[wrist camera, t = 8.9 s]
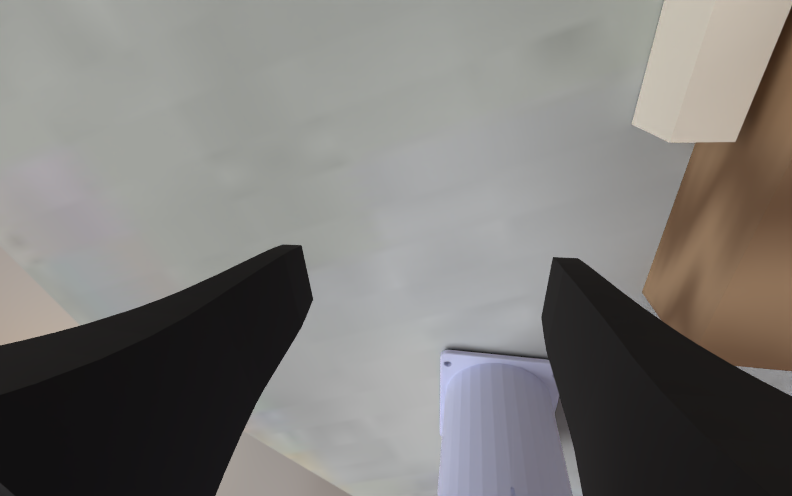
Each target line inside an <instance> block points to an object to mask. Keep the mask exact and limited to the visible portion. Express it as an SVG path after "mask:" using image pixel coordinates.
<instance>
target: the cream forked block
mask: <svg viewBox="0 0 792 496" xmlns="http://www.w3.org/2000/svg"><path fill="white" fill-rule="evenodd" d="M791 6H792V0H664V3H663V7H662V11H661V15H660V19H659V22H658V26H657V30H656V34H655V37H654V41H653V45H652V49H651V53H650V56H649V60H648V64H647V68H646V72H645V75H644V79H643V83H642V87H641V91H640V94H639V98H638V102H637V106H636V109H635V113H634V117H633V121H632V125H634V126H636V127H638V128H640V129H642V130H644V131H646V132H648V133H650V134H652V135H655V136H657V137H659V138H661V139H663V140H665V141H667V142H669V143H692V142H736V139H737V137H738V134H739V132H740V130H741V127H742V125H743V122H744V120H745V118H746V115H747V113H748V110H749V108H750V105H751V103H752V101H753V98H754V96H755V93H756V91H757V89H758V86H759V84H760V81H761V79H762V76H763V74H764V72H765V69H766V67H767V64H768V62H769V59H770V57H771V55H772V52H773V50H774V47H775V45H776V43H777V40H778V38H779V35H780V33H781V30H782V28H783V26H784V23H785V21H786V18H787V16H788V14H789V11H790V9H791Z"/></svg>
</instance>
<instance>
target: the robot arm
mask: <svg viewBox="0 0 792 496" xmlns="http://www.w3.org/2000/svg"><path fill="white" fill-rule="evenodd" d="M312 301H313V297H312V292H311V287H310V283H309V278H308V274H307V269H306V264H305V260H304V255H303V250H302V246H301V245H280V246H278V247H275V248H272V249H270V250H268V251H266V252H263V253H261V254H259V255H257V256H255V257H253V258H251V259H249V260H247V261H244V262H242V263H240V264H238V265H236V266H234V267H232V268H230V269H228V270H226V271H224V272H222V273H220V274H218V275H215V276H213V277H211V278H209V279H207V280H204V281H202V282H200V283H198V284H196V285H193V286H191V287H189V288H187V289H184V290H182V291H180V292H177V293H175V294H172V295H170V296H167V297H165V298H162V299H160V300H157V301H154V302H152V303H149V304H146V305H144V306H141V307H138V308H135V309H132V310H129V311H126V312H123V313H120V314H117V315H113V316H110V317H107V318H104V319H101V320H97V321H94V322H91V323H88V324H85V325H81V326H78V327H74V328H70V329H66V330H63V331H59V332H56V333H51V334H47V335H44V336H40V337H35V338H31V339H27V340H23V341H18V342H14V343H10V344H5V345H0V496H215V495H216V492H217V490H218V488H219V485H220V483H221V480H222V478H223V475H224V473H225V470H226V468H227V466H228V463H229V461H230V459H231V457H232V455H233V452H234V450H235V448H236V446H237V443H238V441H239V439H240V436H241V434H242V432H243V430H244V428H245V426H246V424H247V422H248V420H249V417H250V415H251V413H252V411H253V409H254V407H255V405H256V403H257V401H258V399H259V397H260V396H261V394H262V392H263V390H264V388H265V387H266V385H267V383H268V382H269V380H270V378H271V377H272V375H273V374H274V372H275V370H276V369H277V367H278V365H279V364H280V362H281V360H282V359H283V357H284V355H285V354H286V352H287V351H288V349H289V347H290V346H291V344H292V342H293V341H294V339H295V337H296V335H297V334H298V332H299V330H300V329H301V327H302V325H303V322H304V320H305V318H306V316H307V313H308V311H309V308H310V306H311V303H312ZM542 325H543V332H544V339H545V345H546V351H547V354H548V358H549V360H546V359H536V358H526V357H516V356H506V355H496V354H486V353H476V352H467V351H457V350H444V351H442V352H441V363H440V435H441V436H442V444H441V456H440V469H439V481H438V494H437V496H573V494H572V490H571V485H570V481H569V476H568V472H567V467H566V463H565V458H564V454H563V449H562V445H561V440H560V436H559V431H558V427H557V422H556V418H555V411H556V407H557V403H558V399H559V396H560V399H561V403H562V406H563V410H564V413H565V416H566V420H567V423H568V427H569V430H570V434H571V438H572V442H573V446H574V450H575V456H576V461H577V466H578V472H579V477H580V482H581V488H582V493H583V496H792V396H790V395H788V394H786V393H784V392H782V391H780V390H778V389H776V388H774V387H772V386H771V385H769V384H767V383H765V382H763V381H761V380H759V379H757V378H755V377H754V376H752V375H750V374H748V373H746V372H744V371H743V370H741V369H739V368H737V367H735V366H734V365H732V364H730V363H728V362H727V361H725V360H723V359H722V358H720V357H718V356H717V355H715V354H713V353H711V352H710V351H708V350H706V349H705V348H703V347H701V346H700V345H698V344H696V343H695V342H693V341H692V340H690V339H688V338H687V337H685V336H684V335H682V334H681V333H679V332H678V331H676V330H675V329H673V328H672V327H670V326H669V325H667V324H666V323H664V322H663V321H661V320H660V319H658V318H657V317H655V316H654V315H653V314H651V313H650V312H648V311H647V310H646V309H644V308H643V307H641V306H640V305H639V304H637V303H636V302H635V301H633V300H632V299H631V298H629V297H628V296H627V295H625V294H624V293H623V292H621V291H620V290H619V289H617V288H616V287H615V286H614V285H612V284H611V283H610V282H609V281H607V280H606V279H605V278H603V277H602V276H601V275H600V274H598V273H597V272H596V271H594V270H593V269H592V268H591V267H589V266H588V265H587V264H585V263H584V262H583V261H581V260H580V259H578V258H558V257H553V260H552V265H551V270H550V276H549V281H548V286H547V291H546V296H545V302H544V307H543V312H542ZM446 361H449V362H446Z"/></svg>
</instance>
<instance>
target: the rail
mask: <svg viewBox="0 0 792 496" xmlns="http://www.w3.org/2000/svg"><path fill="white" fill-rule="evenodd" d="M642 293H643V294H644V296H645V297H646V299H647V300H648V302H649V303H650V305H651V306H652V307H653V309H654V310H655V312H656V313H657V315H658V316H659V318H660V319H661V320H662V321H663V322H664V323H666V324H667V325H669V326H670V327H672V328H673V329H675V330H676V331H678V332H679V333H681V334H682V335H684V336H685V337H687V338H688V339H690V340H692V341H693V342H695V343H696V344H698V345H700V346H701V347H703V348H705V349H706V350H708V351H710V352H711V353H713V354H715V355H717V356H718V357H720V358H722V359H723V360H725V361H727V362H728V363H730V364H732V365H734V366H743V367H753V368H764V369H774V370H785V371H792V6H791V9H790V11H789V14H788V16H787V18H786V21H785V23H784V26H783V28H782V30H781V33H780V35H779V38H778V40H777V43H776V45H775V47H774V50H773V52H772V55H771V57H770V59H769V62H768V64H767V67H766V69H765V72H764V74H763V76H762V79H761V81H760V84H759V86H758V89H757V91H756V93H755V96H754V98H753V101H752V103H751V105H750V108H749V110H748V113H747V115H746V118H745V120H744V122H743V125H742V127H741V130H740V132H739V134H738V137H737V139H736V142H696V143H695V146H694V149H693V151H692V154H691V157H690V160H689V163H688V165H687V168H686V171H685V174H684V177H683V179H682V182H681V185H680V188H679V191H678V193H677V196H676V199H675V202H674V205H673V207H672V210H671V213H670V216H669V218H668V221H667V224H666V227H665V230H664V232H663V235H662V238H661V241H660V244H659V246H658V249H657V252H656V255H655V258H654V260H653V263H652V266H651V269H650V271H649V274H648V277H647V280H646V283H645V285H644V288H643V291H642Z"/></svg>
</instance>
